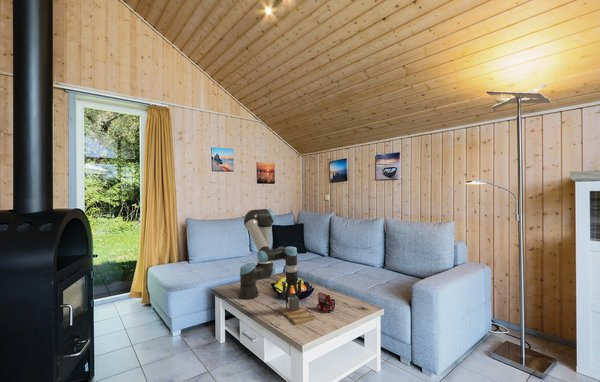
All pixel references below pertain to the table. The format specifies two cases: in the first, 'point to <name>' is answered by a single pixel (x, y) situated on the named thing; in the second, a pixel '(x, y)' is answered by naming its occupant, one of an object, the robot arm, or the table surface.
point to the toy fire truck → (324, 302)
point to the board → (298, 315)
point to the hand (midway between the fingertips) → (292, 306)
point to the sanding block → (293, 303)
